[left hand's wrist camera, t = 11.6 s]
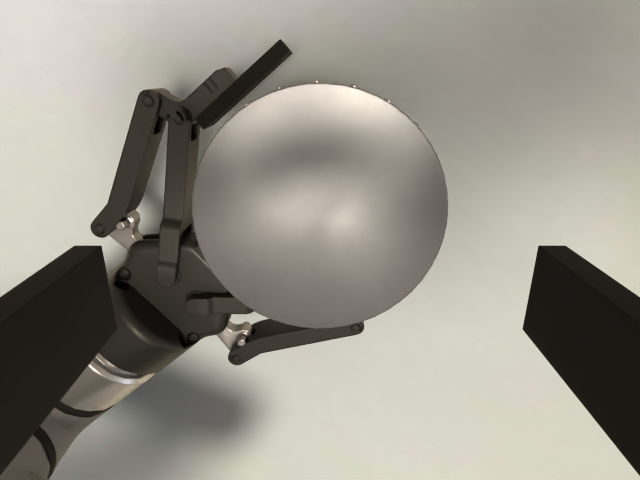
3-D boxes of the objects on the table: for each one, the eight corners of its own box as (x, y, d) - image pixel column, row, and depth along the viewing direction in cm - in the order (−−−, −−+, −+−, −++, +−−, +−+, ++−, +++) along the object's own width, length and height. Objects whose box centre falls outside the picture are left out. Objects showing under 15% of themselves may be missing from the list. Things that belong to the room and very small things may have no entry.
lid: (420, 51, 18) (431, 49, 16) (452, 286, 22) (464, 304, 20) (167, 114, 19) (152, 118, 17) (241, 329, 23) (234, 349, 21)
